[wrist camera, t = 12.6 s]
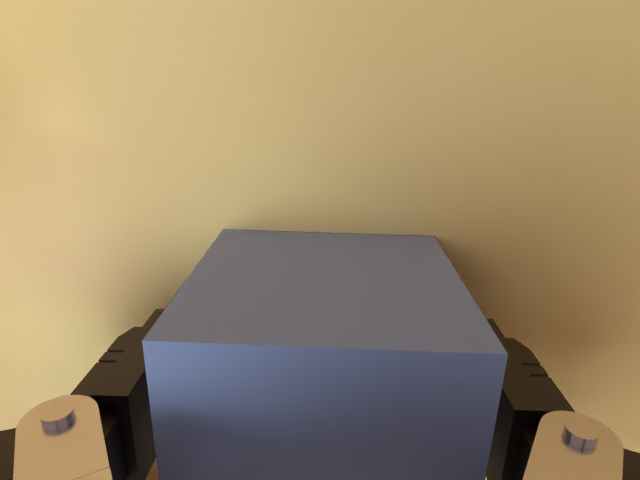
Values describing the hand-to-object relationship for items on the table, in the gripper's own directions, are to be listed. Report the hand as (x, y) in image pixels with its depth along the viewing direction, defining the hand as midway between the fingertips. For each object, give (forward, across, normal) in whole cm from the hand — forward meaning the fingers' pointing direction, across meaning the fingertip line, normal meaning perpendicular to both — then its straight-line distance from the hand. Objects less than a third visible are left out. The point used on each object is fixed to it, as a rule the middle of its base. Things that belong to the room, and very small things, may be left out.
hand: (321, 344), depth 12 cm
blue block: (+1, 0, 0) cm, 1 cm away
